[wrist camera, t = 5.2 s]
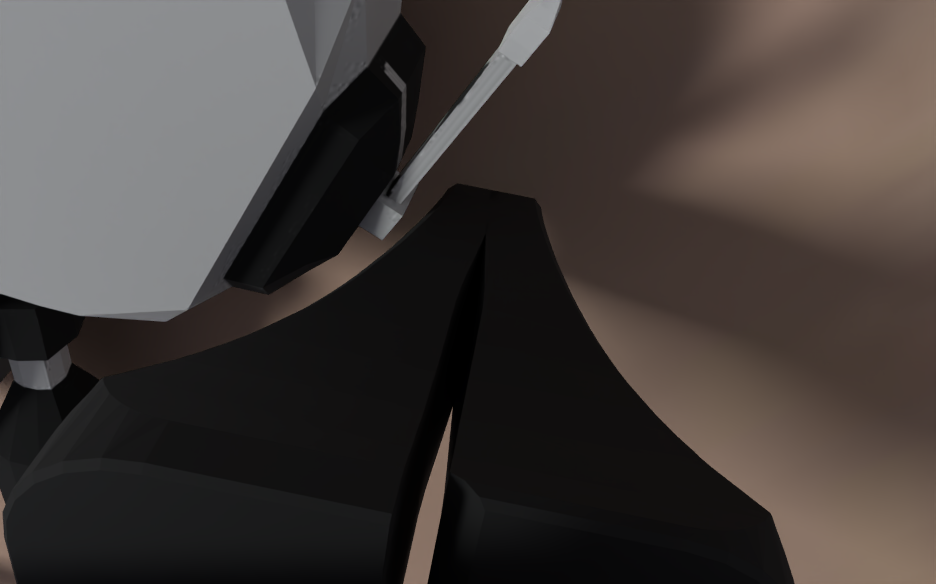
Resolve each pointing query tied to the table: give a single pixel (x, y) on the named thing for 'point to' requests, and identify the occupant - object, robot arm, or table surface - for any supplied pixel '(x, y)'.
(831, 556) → the table surface
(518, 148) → the table surface
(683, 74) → the table surface
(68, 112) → the robot toy
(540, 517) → the robot arm
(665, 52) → the table surface
